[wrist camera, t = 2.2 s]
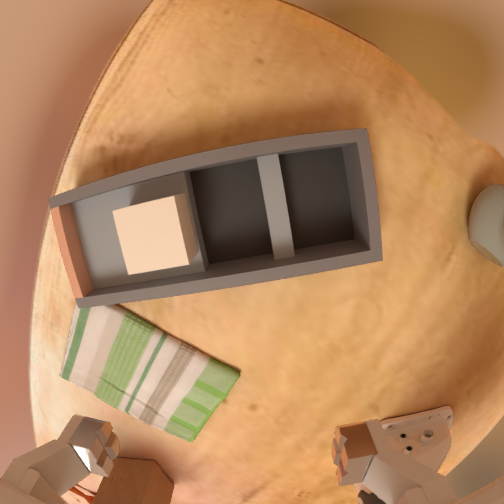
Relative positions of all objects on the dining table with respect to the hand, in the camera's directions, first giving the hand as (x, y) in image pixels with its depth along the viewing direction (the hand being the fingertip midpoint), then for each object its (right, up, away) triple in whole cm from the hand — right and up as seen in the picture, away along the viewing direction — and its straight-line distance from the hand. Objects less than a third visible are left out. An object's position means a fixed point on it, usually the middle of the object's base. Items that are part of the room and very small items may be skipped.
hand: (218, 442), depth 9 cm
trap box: (-3, +10, +23) cm, 25 cm away
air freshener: (+33, +11, +22) cm, 41 cm away
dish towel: (-14, -10, +29) cm, 34 cm away
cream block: (-8, +9, +20) cm, 23 cm away
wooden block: (-20, -37, +35) cm, 55 cm away
